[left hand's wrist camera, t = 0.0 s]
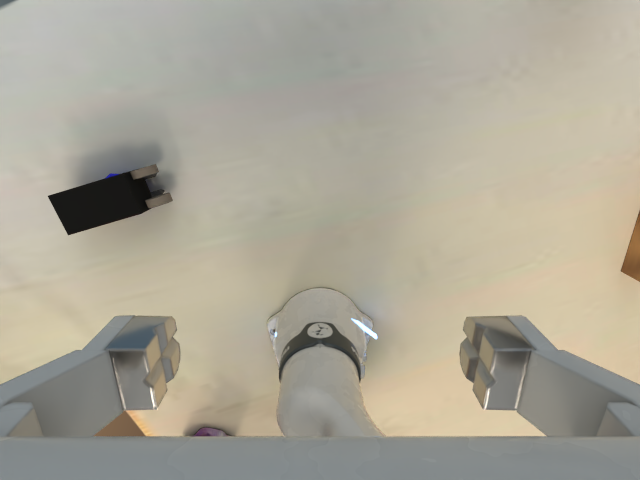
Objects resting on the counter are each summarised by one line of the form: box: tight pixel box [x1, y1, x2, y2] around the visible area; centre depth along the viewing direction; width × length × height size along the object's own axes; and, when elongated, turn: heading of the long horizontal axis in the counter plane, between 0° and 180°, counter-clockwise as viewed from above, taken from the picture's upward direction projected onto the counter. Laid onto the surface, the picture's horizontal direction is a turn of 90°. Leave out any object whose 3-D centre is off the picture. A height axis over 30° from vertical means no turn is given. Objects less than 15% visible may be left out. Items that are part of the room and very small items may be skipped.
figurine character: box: [48, 164, 173, 235], centre depth 55 cm, size 7×8×15 cm
